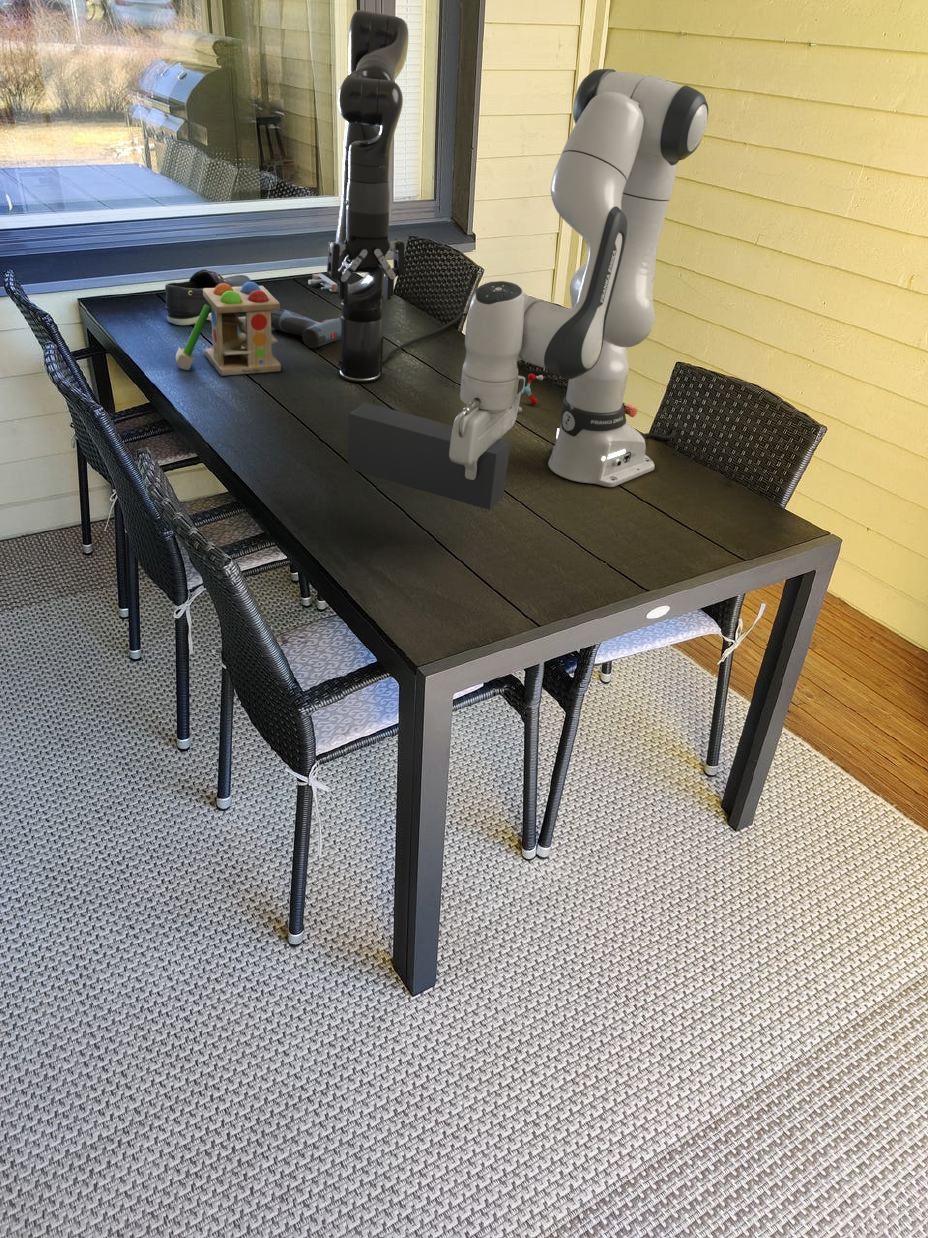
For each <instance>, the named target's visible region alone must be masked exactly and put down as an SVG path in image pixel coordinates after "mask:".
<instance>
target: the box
mask: <svg viewBox="0 0 928 1238" xmlns="http://www.w3.org/2000/svg"><path fill="white" fill-rule="evenodd" d="M452 429H453V425H452V424H451V425H450V424H447V423H443V422H441V421H437V420H436V421H435V420H432V419H428V418H425V417H421V416H418V415H415V414H414V415H413V414H410V413H407V412H402V411H399V410H395V409H391V408H388V407H384V406H380V405H377V404H374V403H373V404H372V403H370V402H365V403H363V404H362V405H361V406H359V407H357V408H356V409H354V410H352V411H351V412H349V413H348V441H347V444H348V446H347V447H348V448H347V469H349V470H352V471H355V472H358V473H361V474H366V475H370V476H373V477H376V478H379V479H383V480H386V481H390V482H393V483H397V484H399V485H403V486H406V487H409V488H413V489H416V490H420V491H424V492H427V493H430V494H433V495H437V496H440V497H444V498H447V499H451V500H454V501H458V502H461V503H464V504H468V505H472V506H475V507H477V508H481V509H483V510H484V509H485V510H488V511H491V510H492V508H494V506H495V505H496V504H498V502H499V501H500V500H501V499H502V498H503V497H504V495H505V489H506V488H505V487H506V479H507V471H508V464H509V456H510V447H511V441H510V440H507V439H504V438H501V439H498V440H497V441H496V442H495V443H494V444H493V445H492V446H491V447H489V448H488V449H487V450H486V451H485V452H484V453H483V454H482V455H481V456H480V457H479V458H478V461H477V467H478V468H479V471H478V476H477V477H476V478H475V479H474V480H470V479H467V478H466V477H465V466H464V465H461V464H457V463H454V462H452V461H451V460H450V457H449V449H450V442H451V435H452Z"/></svg>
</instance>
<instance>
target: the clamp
mask: <svg viewBox="0 0 928 1238" xmlns="http://www.w3.org/2000/svg"><path fill="white" fill-rule="evenodd" d="M307 283H308V285H317V284H320V285H322V286H323V287H322V286H321V287H320V290H329V292H331V293H337V282H335V281H333V280H332V279H330V278H329V277H327V276H326V275H325V274H323V273H313V274H312V279H308V280H307ZM349 285H350V283H348V286H349Z"/></svg>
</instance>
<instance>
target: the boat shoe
mask: <svg viewBox="0 0 928 1238" xmlns="http://www.w3.org/2000/svg"><path fill="white" fill-rule="evenodd" d="M247 282H253V281H252V280H251V278H250V277H249V276H247V275H244V274H235V275H232V276H231V275H230V276H227V277H223V276H222V275H221V274H219V273H217V272H215V271H212V270H207V269H200V270H198V271H196V272H194V273H193V274H192V275H191V276H190V278H189V279H188V280H187V281H180V282H167V283H166V284H165V285H164V289H165V295H166V296H165V306H164V310H165V311H166V312H167V313H166V318H167V322H168V323H170V324H173V325H176V326H190V325H195V324H196V322H197V320H198V318H199V316H200V314H201V311H202V309H203V307H204V305H208V306H210V307H211V305H210V304H209V302H208V301H207V300H206V299H205V297H204V296H203V289H204V288H215V287H216V286H217V285H218V284H221V283H226V284H228V285H230V286H231V287H242V286H243V285H244V284H245V283H247ZM209 314H211V310H210V312H209ZM206 321H210V320H209V318H207V320H206Z"/></svg>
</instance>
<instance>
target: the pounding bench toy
mask: <svg viewBox="0 0 928 1238" xmlns="http://www.w3.org/2000/svg"><path fill="white" fill-rule="evenodd" d="M203 296H204V297H205V299H206V300H207V301H208V302H209V304H210V305H211V307H210V306H208V305H204V307H203V309H202V311H201V314H200V316H199V318H198V320H197V322H196V323H195V324H194V327H193V329H192V331H191V332H190V333H191V334H190V336H189V338H188V340H187V343H186V344H185V347H184V348H182V347H180V346H179V347H178V349H177V351H176V354H175V357H174V358H175V362H176V365H177V366H178V368H179V369H182V370H185V371H189V370H190V369H191V367H192V365H193V363H194V356H193V351H194V348H195V347H196V345H197V342H198V340H199V337H200V336H201V333H202V332H203V329H204V326H205V325H206V322H207V321H210V322H211V336H212V337H211V338H212V339H211V340H212V348H205V349H204V352H205V353H204V355H205V357H206V359H208V361H209V363H210V364H211V365H212V366H213V367H214V369H215V370H216V371H217V372H218V374H219V375H220V376H222V377H223V376H234V375H235V376H236V375H246V374H247V375H250V374H262V373H275V372H281V370H282V364H281V363H280V362H279V360H278V359H277V358H276V357H275V356H274V355H273V348H272V347H273V345H272V344H276V343H278V342H279V341H278V339H277V338H276V337H275V336H274V334H272V327H271V310H280V309H281V304H280V301H278V300H277V299H276V297H274V296H273V295H272V294H271V293H270V292H269V290H268V289H267V288H266V287H264V285H259V284H257V283H256V282H255V281H252V282H247V283H245V284H244V285H243V286H242V287H231V286H230V285H228V284H226V283H221V284H218V285H217V286H216V287H215V288H204V289H203ZM210 310H211V314H209V312H210ZM238 313H244V314H245V315H244V316H238ZM207 318H209V320H207ZM238 329H239V331H240V333H239V334H238Z"/></svg>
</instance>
